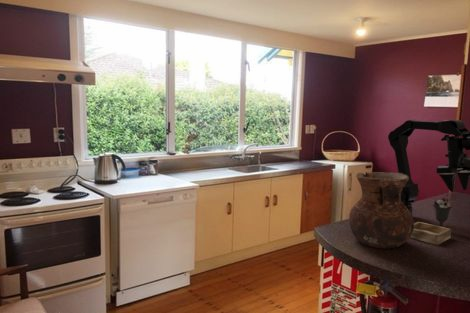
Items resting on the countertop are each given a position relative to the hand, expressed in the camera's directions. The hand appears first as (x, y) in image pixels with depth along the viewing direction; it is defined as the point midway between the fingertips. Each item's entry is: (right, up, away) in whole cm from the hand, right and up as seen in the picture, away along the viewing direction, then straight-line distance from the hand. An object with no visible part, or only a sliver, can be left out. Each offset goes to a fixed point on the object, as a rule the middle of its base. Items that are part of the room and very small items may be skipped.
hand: (458, 190), depth 145 cm
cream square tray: (-16, -17, -6) cm, 24 cm away
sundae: (-6, -16, +2) cm, 18 cm away
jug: (-37, -18, -13) cm, 43 cm away
